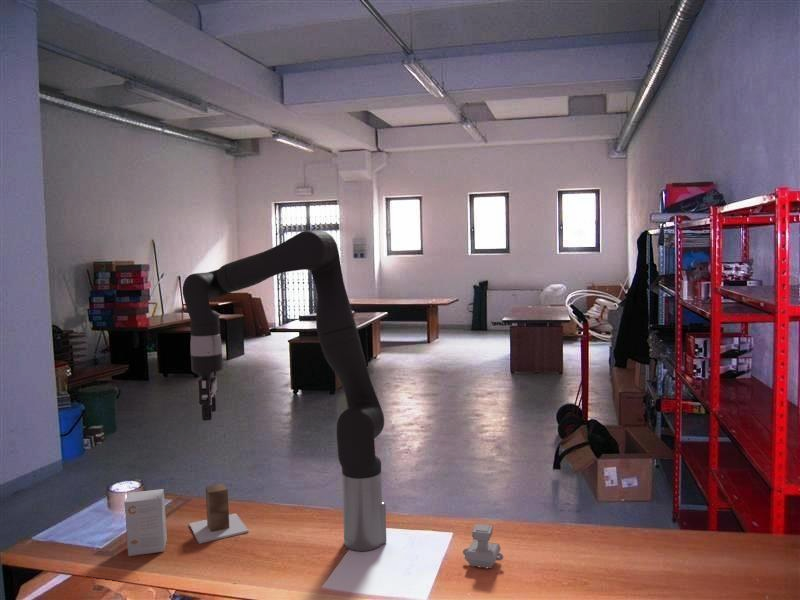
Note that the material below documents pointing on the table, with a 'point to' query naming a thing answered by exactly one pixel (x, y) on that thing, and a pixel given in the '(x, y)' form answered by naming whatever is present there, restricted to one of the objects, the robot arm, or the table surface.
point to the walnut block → (217, 507)
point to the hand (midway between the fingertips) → (209, 415)
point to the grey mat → (206, 535)
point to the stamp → (482, 547)
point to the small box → (145, 522)
